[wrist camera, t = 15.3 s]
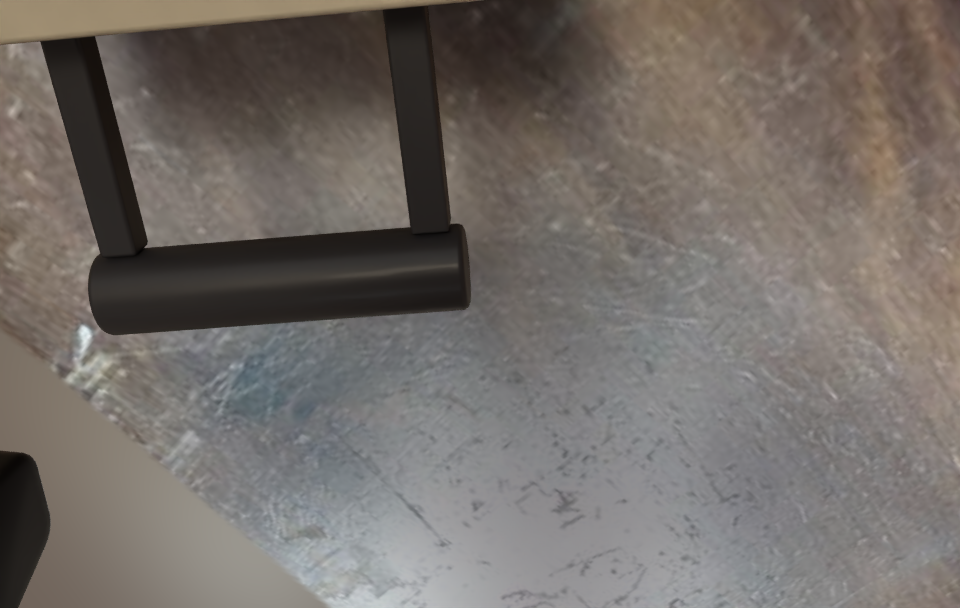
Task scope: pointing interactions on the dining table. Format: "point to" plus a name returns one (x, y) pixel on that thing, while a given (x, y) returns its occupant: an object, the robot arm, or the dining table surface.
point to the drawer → (260, 262)
